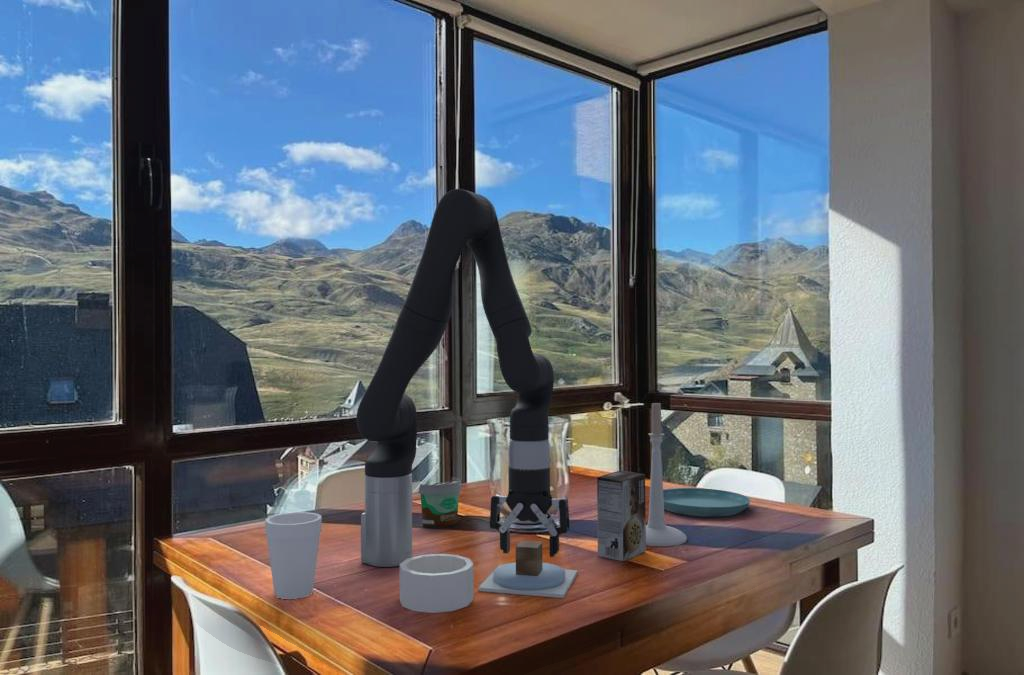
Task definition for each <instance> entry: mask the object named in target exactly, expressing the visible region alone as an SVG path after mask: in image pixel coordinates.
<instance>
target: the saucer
mask: <svg viewBox="0 0 1024 675" xmlns="http://www.w3.org/2000/svg"><path fill="white" fill-rule="evenodd" d="M663 498H664V510H665V509H666V510H665V511H667V510H668V512H670V511H671V513H673V512H674V513H673V514H677V513H678V515H682V514H683V516H690V517H701V518H702V517H703V518H704V517H705V518H707V517H708V518H720V517H721V518H722V517H730V516H734V515H737V514H740V513H741V512H743V511H744V510H746V509H747V508H748V507H749V505H750V504H751V498H749V496H747V495H744V494H741V493H738V492H733V491H728V490H722V489H716V488H715V489H714V488H713V489H712V488H701V487H700V488H699V487H698V488H697V487H681V488H680V487H679V488H678V487H676V488H667V489H666V488H665V489H663Z"/></svg>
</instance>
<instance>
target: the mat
mask: <svg viewBox="0 0 1024 675" xmlns="http://www.w3.org/2000/svg"><path fill="white" fill-rule="evenodd" d="M502 565H503V564H499V565H498V566H497V567H499V566H502ZM563 569H564V570H565V582H564V583H563V584H561V585H560V586H557V587H554V588H550V589H545V590H532V591H528V590H515V589H509V588H505V587H502V586H500V585H498V584H496V583H495V582H494V580H493V572H491V573H490V574H489V575H488V577H487V578H486V579H484V581H483V582H482V583H481V584H480V585H479V586H478V592H486V593H487V592H488V593H498V594H509V595H510V594H511V595H521V596H522V595H523V596H534V597H544V598H545V597H546V598H557V599H564V598H565V596H566V595H567V593H568V591H569V589H570V587H571V586H572V584H573V583H574V581H575V579H576V577H577V575H578V570H577V569H566V568H563Z"/></svg>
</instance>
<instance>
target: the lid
mask: <svg viewBox="0 0 1024 675" xmlns="http://www.w3.org/2000/svg"><path fill="white" fill-rule="evenodd" d="M501 565H502V566H499V565H498V566H499V567H498V566H497V567H495V569H493V571H492V573H493V580H494V582H495V583H496V584H498V585H500V586H502V587H505V588H509V589H515V590H528V591H532V590H545V589H550V588H554V587H557V586H560V585H561V584H563V583H564V582H565V570H564V569H565V568H563V567H561V566H559V565H556V564H552V563H549V562H543V541H529V540H520V541H519V542H518V543H517V544H516V546H515V562H509V563H506V564H501Z"/></svg>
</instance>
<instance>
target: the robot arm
mask: <svg viewBox="0 0 1024 675" xmlns="http://www.w3.org/2000/svg"><path fill="white" fill-rule="evenodd" d="M466 245H467V246H468V248H469V251H471V253H472V256H473V258H474V260H475V263H476V266H477V268H478V269H477V270H478V275H479V280H480V282H479V283H480V284H479V285H480V298H481V304H482V307H483V311H484V314H485V317H486V320H487V323H488V325H489V328H490V330H491V332H492V335H493V337H494V339H495V344H496V352H497V357H498V364H499V369H500V373H501V376H502V377H503V380H504V381H505V383H506V385H507V386H508V388H510V389H511V390H512V391H513V392H515V393H517V394H518V395H517V402H516V405H515V406H514V407H513V408H512V409H511V412H510V415H509V446H508V451H507V452H508V455H507V456H508V458H507V461H508V468H507V469H508V493H507V495H501V494H500V493H496V494H494V495H492V497H491V498H490V509H489V510H490V513H489V514H490V515H489V516H490V517H489V528H490V529H491V530H497V531H498V532H499V549H500V550H501V551H502V553H503V554H507V555H508V554H509V552H510V550H511V530H509V529H510V527H511V526H512V525H513V524H514V522H515V521H516V520H519V522H527V521H529V522H532V523H537V522H539V521H540V523H541V524H542V525H543V527H545V528H546V530H547V531H548V532H549V534H550V535H549V537H548V538H549V544H548V546H549V558H554V557H555V556H556V555H557V554H558V553H559V550H560V535H562V534H566V533H567V532H568V531H569V530H570V528H571V527H570V511H569V509H570V508H569V499H568V498H567V497H566V496H563V497H560V498H559V497H558V498H553V497H552V494H551V463H552V458H551V450H550V442H549V441H550V440H549V438H550V437H549V436H550V433H549V412H550V408H551V404H552V397H553V393H554V385H555V384H554V383H555V375H554V374H555V373H554V368H553V364H552V362H551V361H550V360H549V359H548V357H546V356H545V355H543V354H541V353H538V352H537V353H535V352H533V349H532V346H531V343H530V339H529V337H530V336H531V334H532V332H533V330H532V325H531V322H530V319H529V317H528V315H527V313H526V309H525V307H524V304H523V302H522V300H521V297H520V294H519V292H518V290H517V289H518V288H517V287H516V284H515V281H514V279H513V278H514V277H513V275H512V271H511V269H510V265H509V262H508V258H507V257H508V256H507V254H506V250H505V246H504V242H503V238H502V233H501V228H500V223H499V218H498V215H497V211H496V209H495V207H494V204H493V203H492V202H491V200H490V199H489V198H487V197H486V196H484V195H481V194H480V193H476V192H473V191H470V190H466V189H462V188H455V189H451V190H449V191H448V192H447V191H446V193H445V194H444V195H443V196H442V197H441V199H440V200H439V201H438V203H437V205H436V207H435V210H434V212H433V217H432V220H431V224H430V227H429V231H428V235H427V239H426V243H425V245H424V249H423V252H422V255H421V258H420V260H419V263H418V266H417V268H416V271H415V273H414V275H413V279H412V282H411V284H410V286H409V290H408V291H407V294H406V297H405V299H404V301H403V304H402V306H401V309H400V312H399V314H398V316H397V319H396V322H395V324H394V328H393V330H392V333H391V336H390V338H389V340H388V343H387V345H386V347H385V350H384V353H383V354H382V358H381V360H380V362H379V366H377V369H376V372H374V375H373V377H372V379H371V381H370V383H369V384H368V386H367V388H366V390H365V391H364V394H363V395H362V398H361V401H360V402H359V405H358V408H357V410H356V411H357V412H356V427H357V430H358V432H359V434H360V435H361V436H362V437H363V438H364V439H365V440H368V441H371V442H377V444H376V447H375V449H374V451H373V452H372V453H371V454H370V455H369V456H368V458H367V459H365V462H364V512H362V513H361V514H360V563H362V564H366V565H369V566H372V567H377V568H378V567H379V568H381V567H382V568H388V567H389V568H390V567H392V568H393V567H398V566H399V567H400V564H401V563H402V562H403V561H405V560H406V559H409V558H413V463H414V461H415V459H416V456H417V455H416V454H417V441H418V439H417V438H418V412H417V408H416V404H415V402H414V401H413V399H412V397H410V395H408V394H407V393H405V392H406V390H407V388H408V385H410V383H411V380H412V379H413V377H414V375H416V374H417V372H418V370H420V369H421V367H423V365H424V364H425V363H426V361H428V359H429V358H430V356H432V355H433V353H434V352H435V350H436V349H437V348H438V346H439V344H440V342H441V341H442V338H443V336H444V333H445V331H446V329H447V326H448V325H449V321H450V319H451V317H452V313H453V307H454V276H455V272H456V267H457V264H458V262H459V259H460V257H461V255H462V252H463V250H464V248H465V246H466ZM505 503H506V505H507V506H508V508H509V510H510V511H511V512H510V513H509V515H508V516H507V517H506V518H505V520H504V522H502V521H500V520H501V508H502V507H503V506H504V505H505ZM552 506H554V508H555V510H556V511H558V513H559V524H560V525H558V524H557V522H556V521H555V520H554V518H553V516H552V514H551V513H550V512H549V510H550V509H551V507H552Z"/></svg>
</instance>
